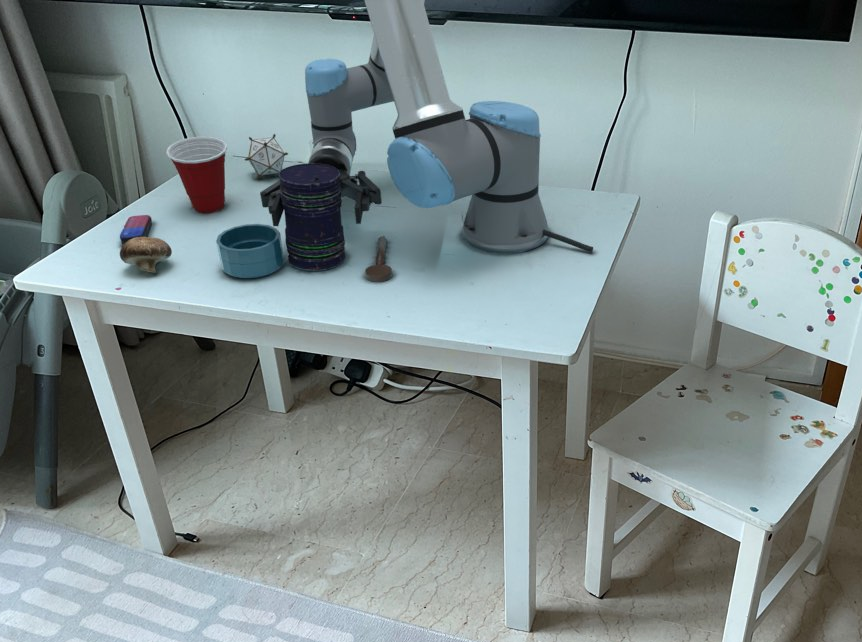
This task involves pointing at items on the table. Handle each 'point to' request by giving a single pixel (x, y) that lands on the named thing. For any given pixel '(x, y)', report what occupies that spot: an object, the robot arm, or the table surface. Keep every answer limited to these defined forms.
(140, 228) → the eraser
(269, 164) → the game die
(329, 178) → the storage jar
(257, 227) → the bowl
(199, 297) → the table surface
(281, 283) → the table surface
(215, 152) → the plastic cup
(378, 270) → the spoon
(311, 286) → the table surface
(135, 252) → the mushroom
